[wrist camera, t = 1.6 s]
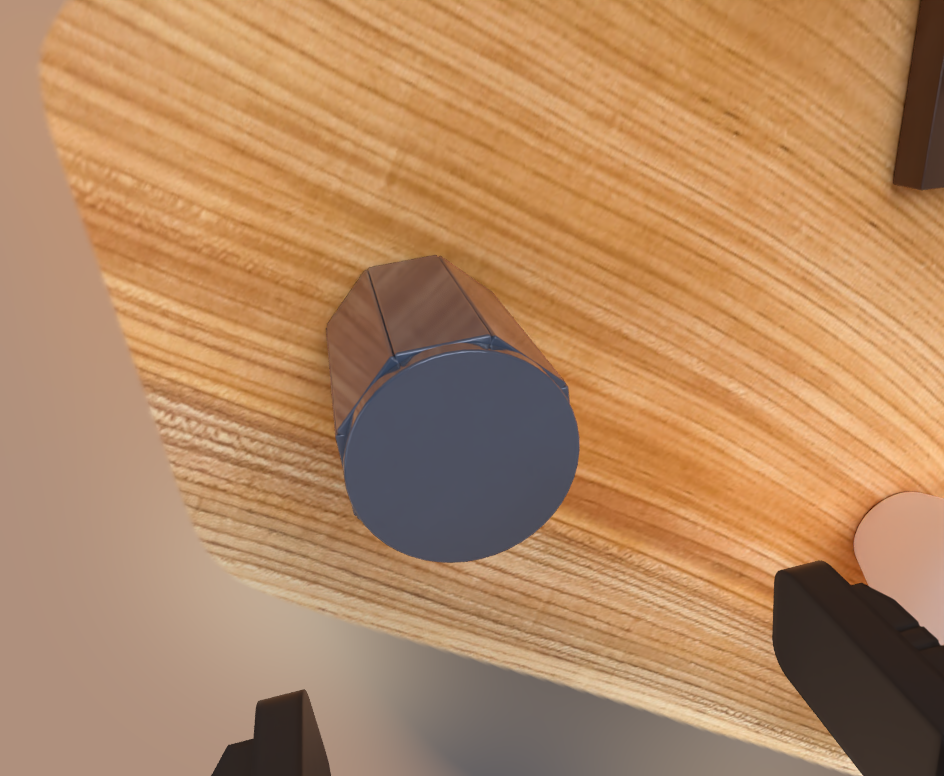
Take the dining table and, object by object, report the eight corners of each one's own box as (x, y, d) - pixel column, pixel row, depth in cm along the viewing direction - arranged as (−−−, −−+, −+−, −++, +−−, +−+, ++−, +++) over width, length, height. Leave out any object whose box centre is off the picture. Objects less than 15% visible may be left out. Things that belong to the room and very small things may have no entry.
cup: (297, 366, 27) (295, 501, 19) (396, 224, 25) (439, 302, 17) (435, 446, 29) (487, 596, 21) (531, 319, 28) (626, 427, 20)
